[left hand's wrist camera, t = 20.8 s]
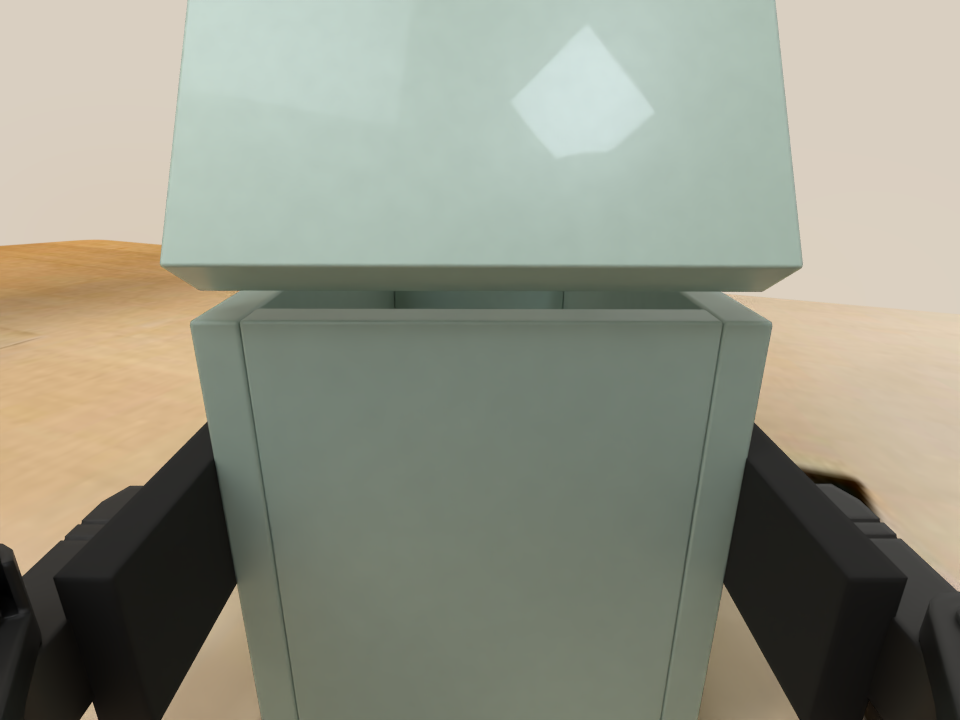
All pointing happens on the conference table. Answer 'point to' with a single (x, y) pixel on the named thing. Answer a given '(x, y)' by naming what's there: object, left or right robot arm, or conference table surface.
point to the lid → (481, 147)
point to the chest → (480, 496)
